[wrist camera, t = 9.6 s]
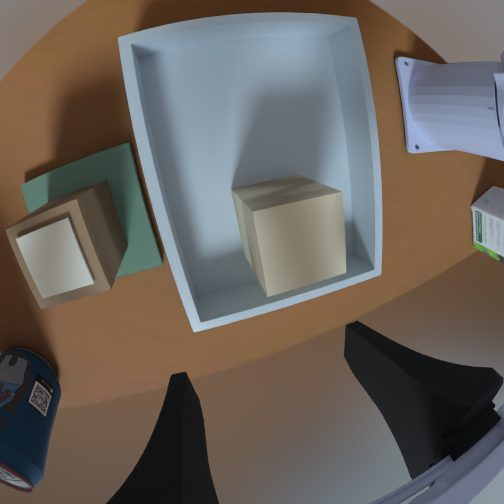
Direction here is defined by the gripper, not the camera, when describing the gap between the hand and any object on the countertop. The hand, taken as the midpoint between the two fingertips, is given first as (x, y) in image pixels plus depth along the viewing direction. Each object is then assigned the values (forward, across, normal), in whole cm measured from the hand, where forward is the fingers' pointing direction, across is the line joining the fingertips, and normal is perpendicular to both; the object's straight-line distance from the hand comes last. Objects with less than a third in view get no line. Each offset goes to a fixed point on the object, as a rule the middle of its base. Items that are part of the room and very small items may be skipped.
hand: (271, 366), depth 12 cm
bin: (+9, -3, -7) cm, 12 cm away
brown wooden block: (+9, +8, -6) cm, 14 cm away
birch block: (+9, -3, -4) cm, 10 cm away
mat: (+9, +8, -6) cm, 14 cm away
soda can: (+9, +21, +5) cm, 23 cm away
